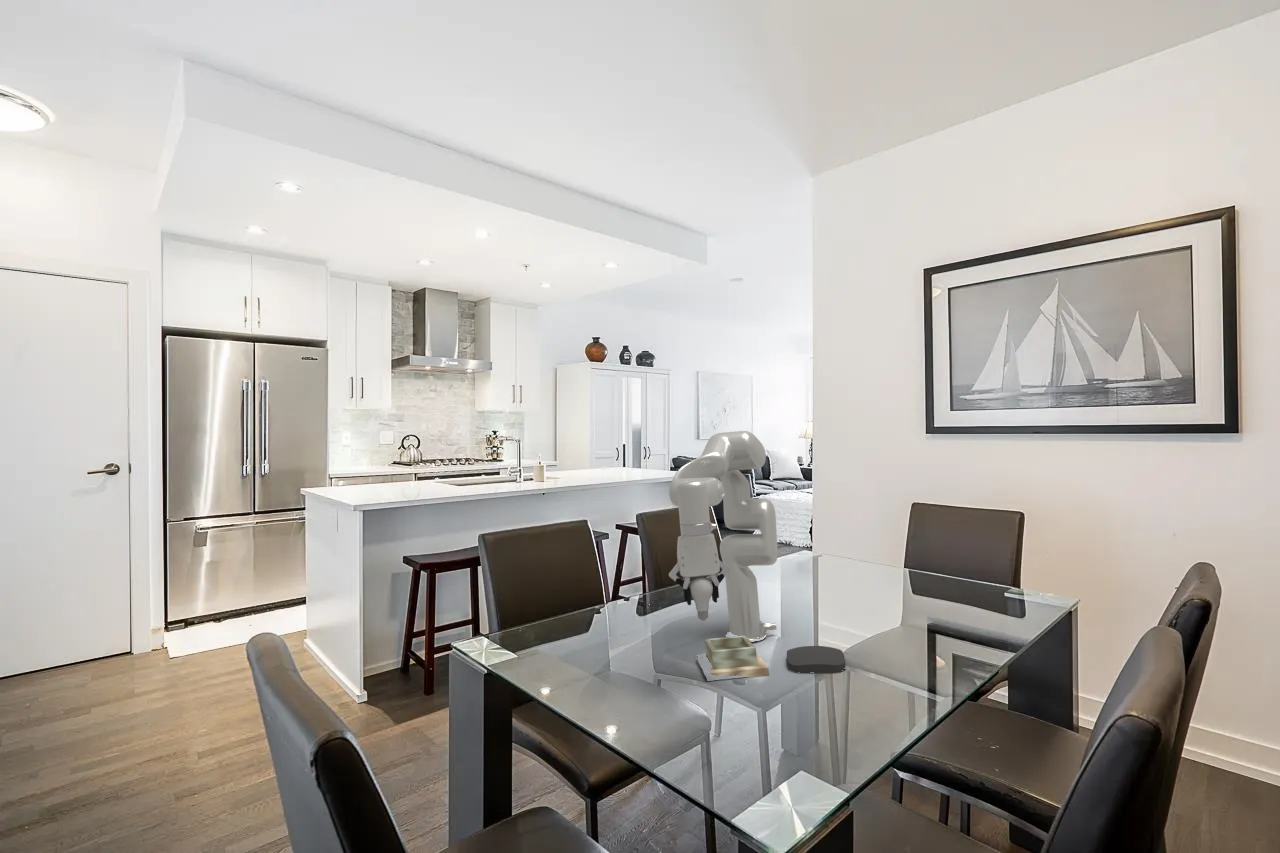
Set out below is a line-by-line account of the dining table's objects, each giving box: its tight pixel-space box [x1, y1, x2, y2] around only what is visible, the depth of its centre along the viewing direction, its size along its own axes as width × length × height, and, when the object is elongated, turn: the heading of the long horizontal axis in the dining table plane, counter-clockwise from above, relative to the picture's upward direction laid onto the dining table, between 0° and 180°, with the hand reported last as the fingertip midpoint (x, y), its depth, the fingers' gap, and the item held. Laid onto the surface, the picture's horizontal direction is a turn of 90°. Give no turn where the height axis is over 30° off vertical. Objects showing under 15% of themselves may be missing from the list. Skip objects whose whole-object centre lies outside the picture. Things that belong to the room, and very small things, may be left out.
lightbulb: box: [688, 576, 713, 621], centre depth 154 cm, size 6×6×11 cm
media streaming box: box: [786, 645, 847, 674], centre depth 164 cm, size 15×15×3 cm
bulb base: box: [696, 635, 770, 678], centre depth 166 cm, size 16×16×6 cm
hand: (701, 601), depth 154 cm, fingers closed on lightbulb, 5 cm apart
